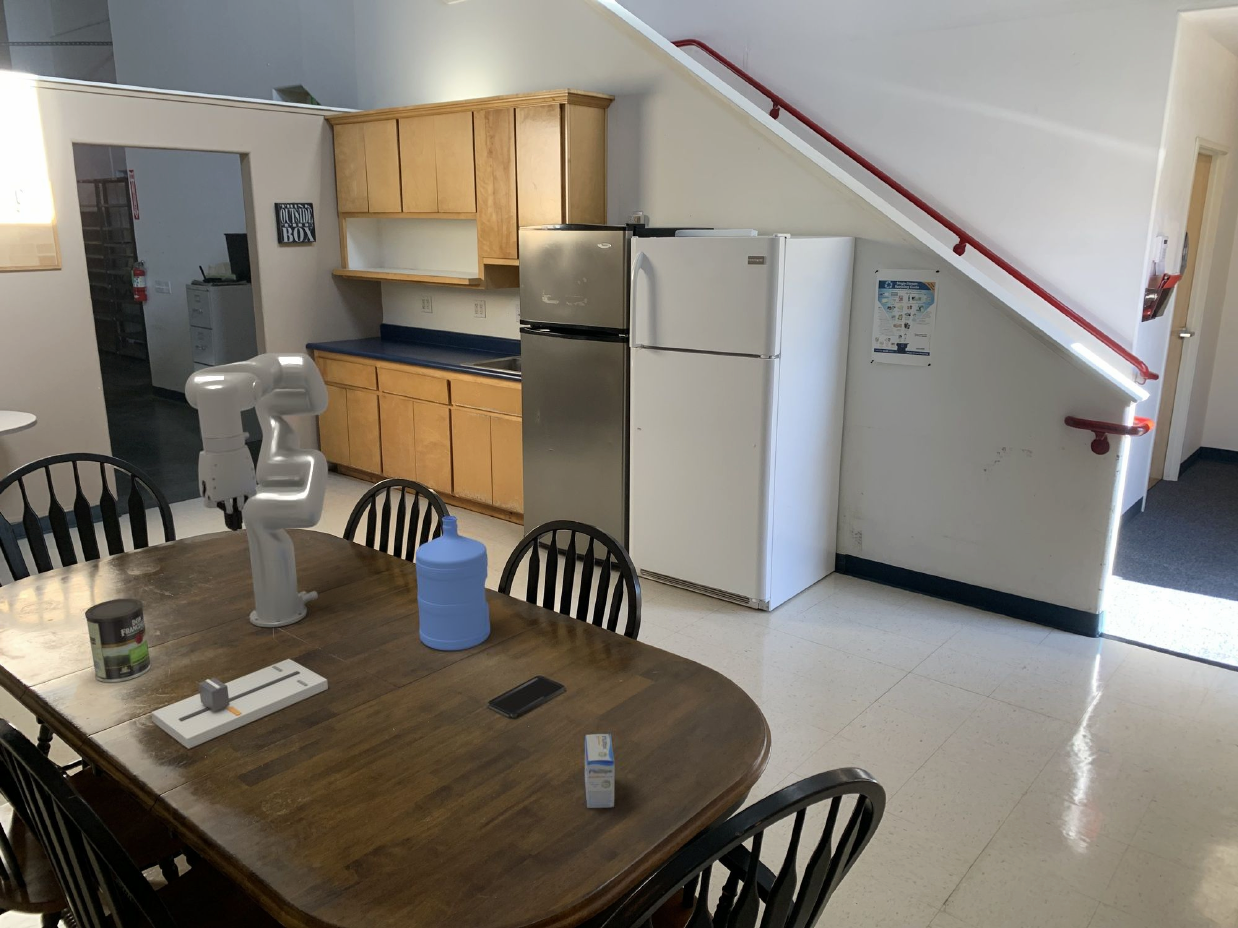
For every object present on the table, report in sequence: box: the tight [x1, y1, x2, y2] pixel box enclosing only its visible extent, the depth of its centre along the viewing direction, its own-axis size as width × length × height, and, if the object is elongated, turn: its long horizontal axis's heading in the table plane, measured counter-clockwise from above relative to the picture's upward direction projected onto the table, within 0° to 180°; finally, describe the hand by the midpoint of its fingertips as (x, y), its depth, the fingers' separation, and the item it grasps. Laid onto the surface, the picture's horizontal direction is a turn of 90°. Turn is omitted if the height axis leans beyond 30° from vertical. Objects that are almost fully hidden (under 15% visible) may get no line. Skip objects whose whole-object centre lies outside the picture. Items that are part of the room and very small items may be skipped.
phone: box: [486, 675, 566, 720], centre depth 177 cm, size 8×1×15 cm
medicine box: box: [584, 733, 616, 809], centre depth 146 cm, size 8×4×9 cm, turn 5°
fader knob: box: [198, 677, 230, 711], centre depth 169 cm, size 3×5×4 cm, turn 50°
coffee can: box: [84, 598, 152, 683], centre depth 186 cm, size 10×10×14 cm
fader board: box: [151, 658, 329, 750], centre depth 174 cm, size 28×14×2 cm, turn 140°
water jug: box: [415, 515, 491, 651], centre depth 200 cm, size 16×16×28 cm
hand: (234, 528), depth 185 cm, fingers closed
